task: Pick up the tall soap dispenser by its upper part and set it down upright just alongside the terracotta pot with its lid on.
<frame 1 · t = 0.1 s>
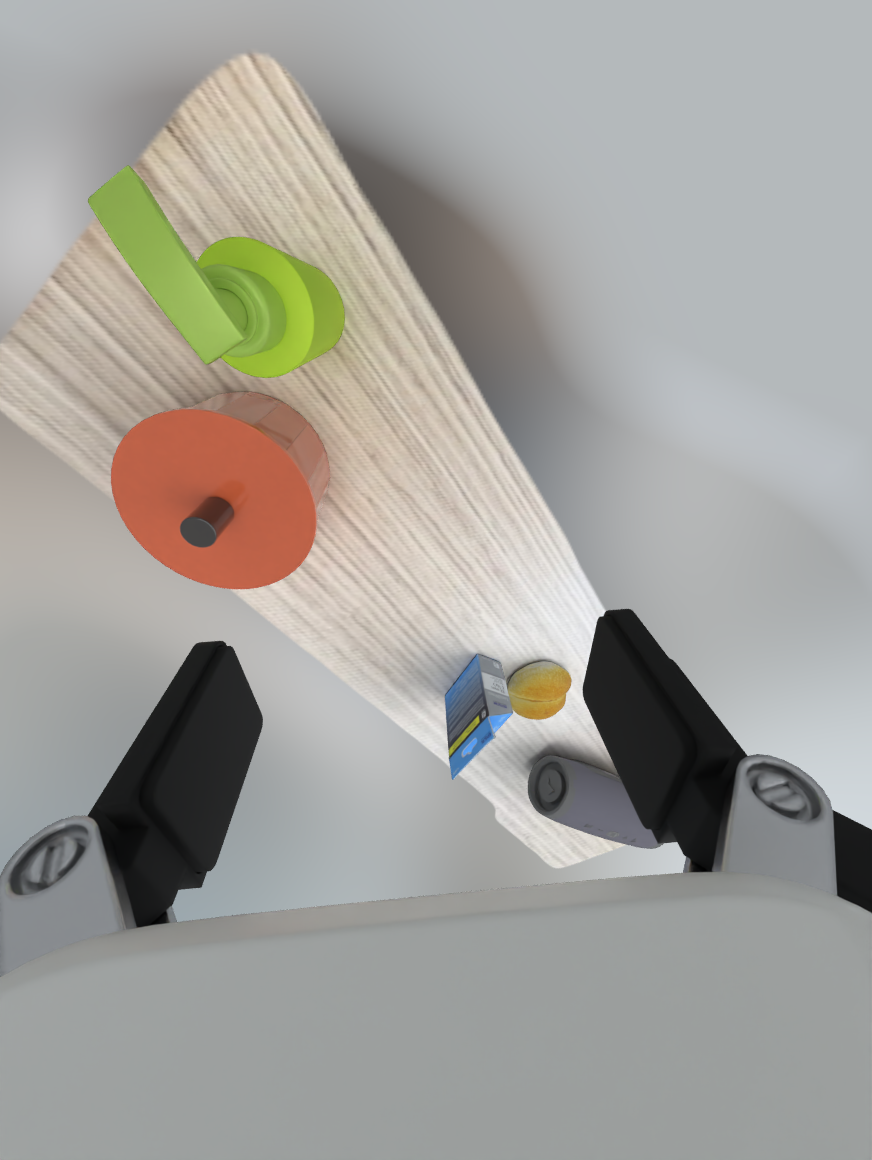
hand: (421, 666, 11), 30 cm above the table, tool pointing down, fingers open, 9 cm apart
soap dispenser: (301, 304, 31), on the table
pot: (259, 466, 38), on the table
bluetooth speaker: (586, 770, 69), on the table
bread roll: (536, 682, 56), on the table
label tape box: (470, 677, 55), on the table
pot lid: (221, 508, 30), point 9 cm above the table, touching pot
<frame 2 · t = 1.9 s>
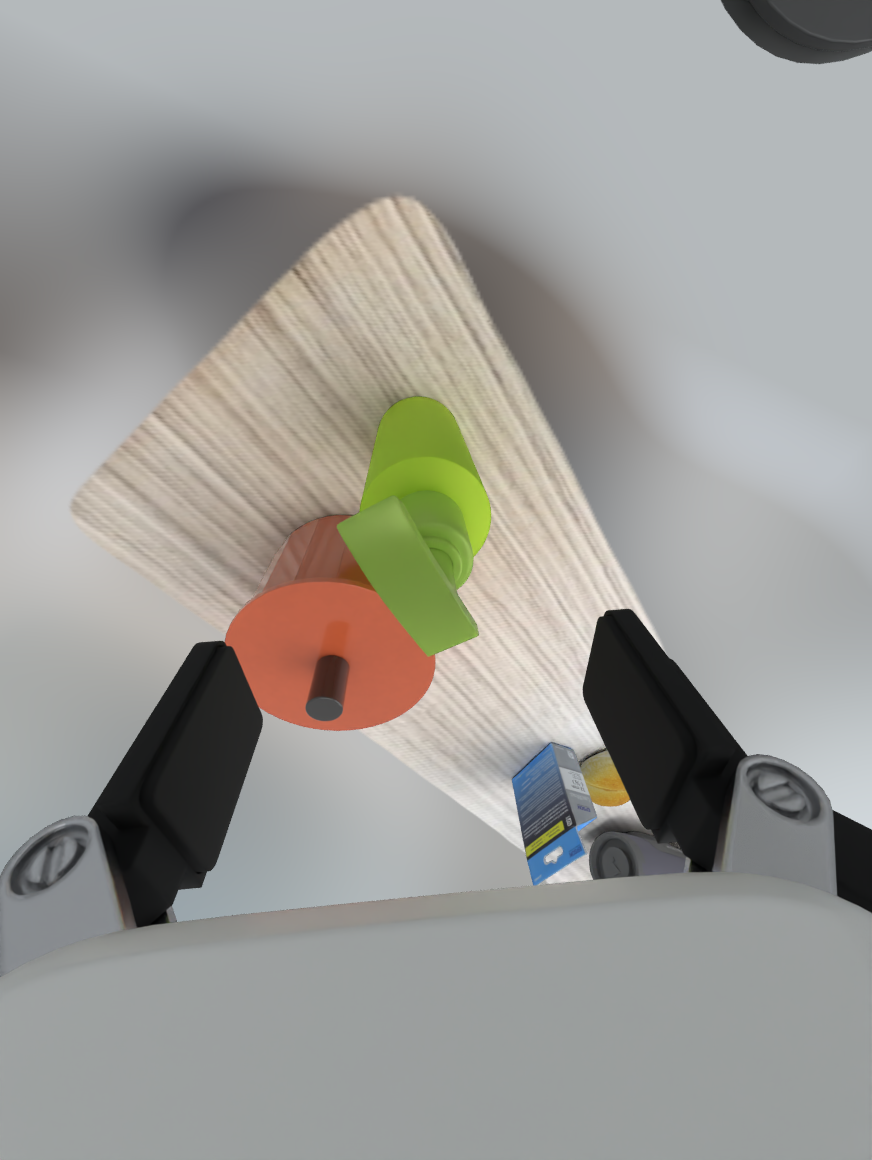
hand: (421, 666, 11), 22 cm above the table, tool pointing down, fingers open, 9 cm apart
soap dispenser: (415, 433, 29), on the table
pot: (350, 581, 35), on the table
bluetooth speaker: (644, 839, 67), on the table
bread roll: (606, 765, 54), on the table
label tape box: (540, 762, 53), on the table
pot lid: (334, 661, 28), point 9 cm above the table, touching pot
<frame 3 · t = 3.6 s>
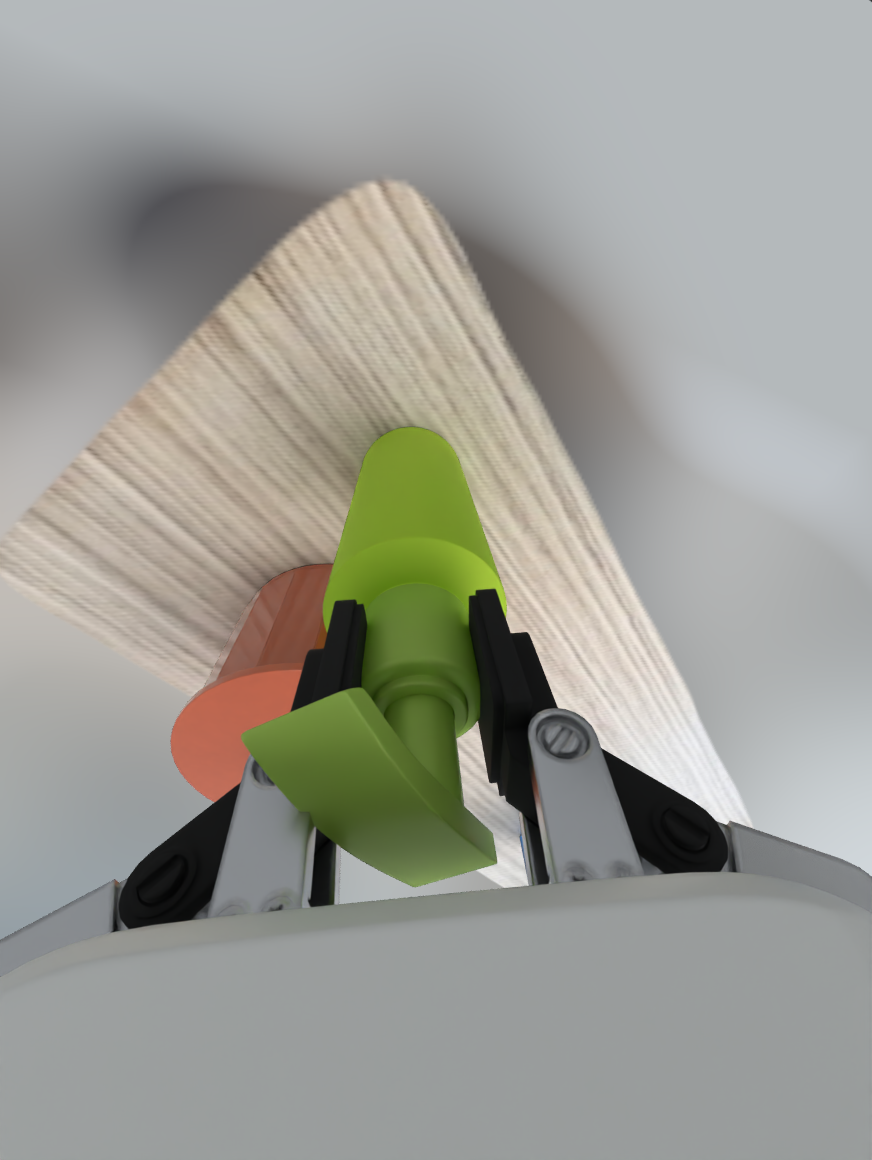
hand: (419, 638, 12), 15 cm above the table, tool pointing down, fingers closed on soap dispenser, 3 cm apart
soap dispenser: (407, 470, 24), on the table, touching gripper
pot: (335, 637, 30), on the table
pot lid: (310, 753, 22), point 9 cm above the table, touching pot
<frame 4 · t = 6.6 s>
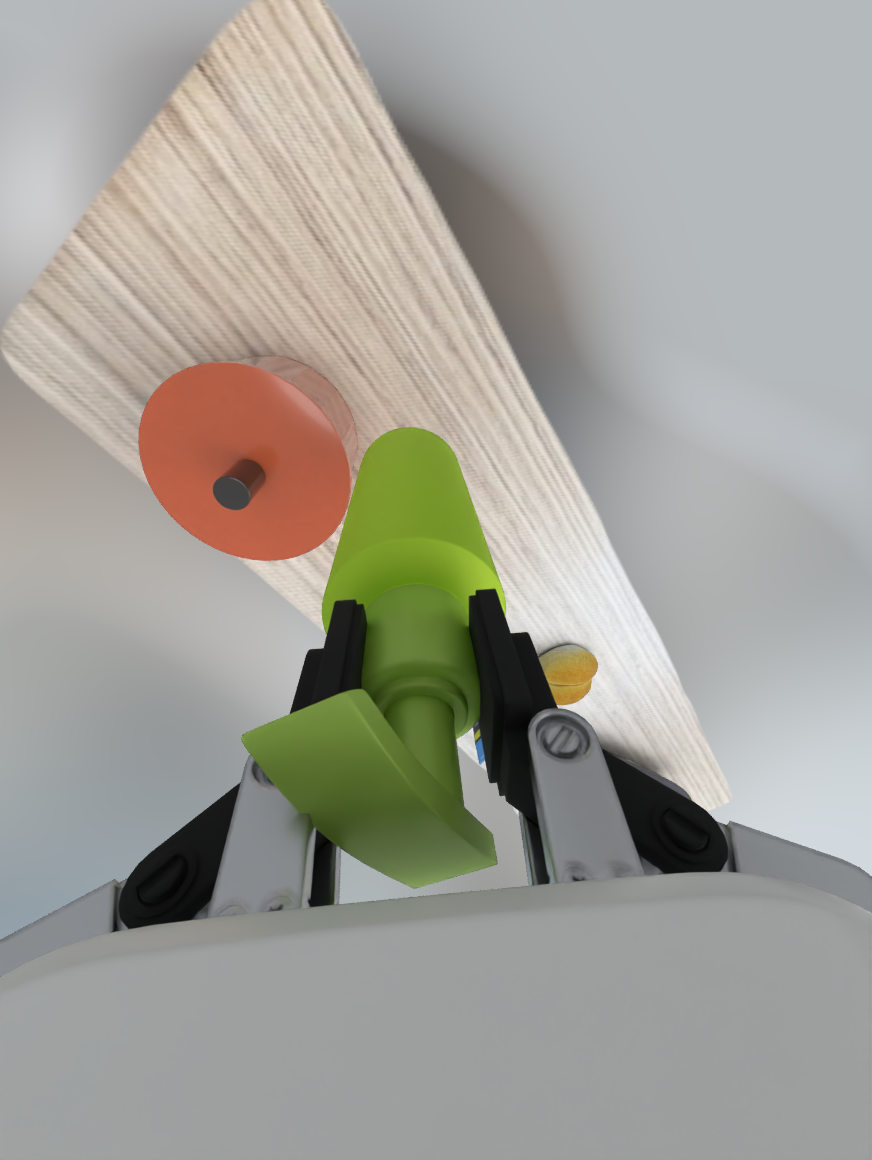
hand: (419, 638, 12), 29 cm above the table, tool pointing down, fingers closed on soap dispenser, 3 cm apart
soap dispenser: (406, 470, 24), point 14 cm above the table, touching gripper
pot: (284, 436, 36), on the table
bluetooth speaker: (608, 759, 68), on the table
bread roll: (560, 667, 55), on the table
pot lid: (251, 472, 28), point 9 cm above the table, touching pot
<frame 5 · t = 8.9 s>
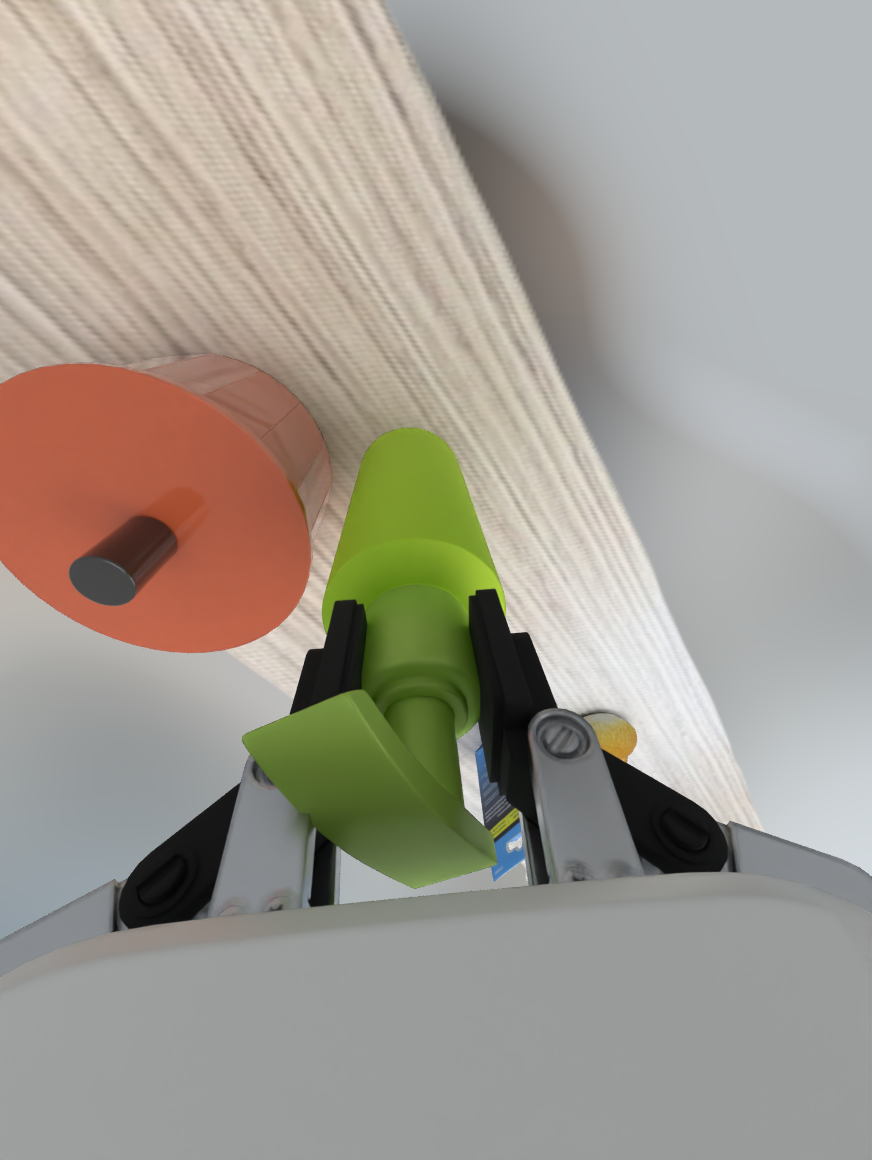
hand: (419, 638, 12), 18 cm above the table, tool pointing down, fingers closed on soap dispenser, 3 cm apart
soap dispenser: (406, 470, 24), point 3 cm above the table, touching gripper
pot: (231, 465, 26), on the table
bread roll: (589, 736, 45), on the table
label tape box: (508, 731, 44), on the table
pot lid: (156, 533, 18), point 9 cm above the table, touching pot
when the fingers open (15 cm above the table, at t = 10.0 s): soap dispenser stays where it is, on the table.
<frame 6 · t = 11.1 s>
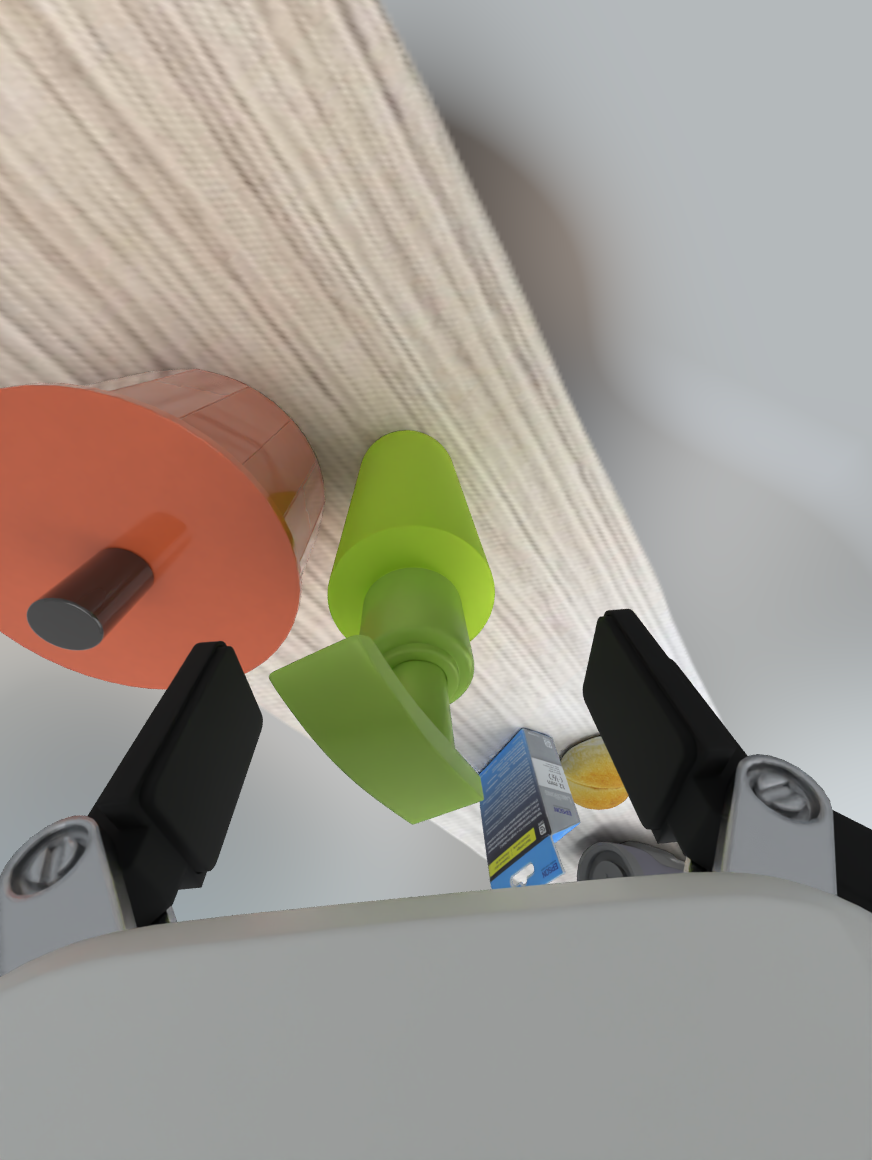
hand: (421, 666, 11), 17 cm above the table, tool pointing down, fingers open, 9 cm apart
soap dispenser: (403, 471, 25), on the table
pot: (218, 485, 25), on the table
bluetooth speaker: (644, 850, 56), on the table
bread roll: (594, 758, 43), on the table
label tape box: (510, 754, 42), on the table
pot lid: (131, 564, 17), point 9 cm above the table, touching pot
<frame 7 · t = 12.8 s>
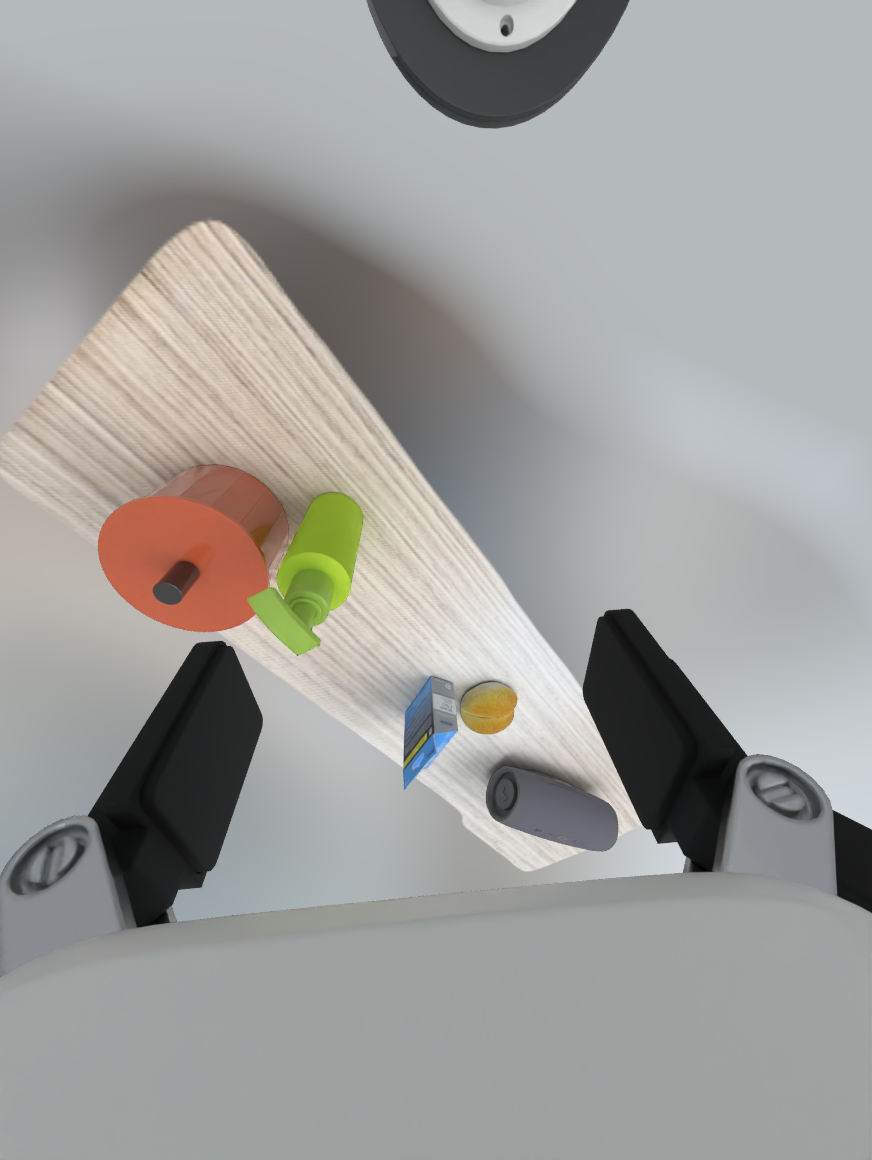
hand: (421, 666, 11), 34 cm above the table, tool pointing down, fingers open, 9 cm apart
soap dispenser: (333, 513, 44), on the table
pot: (227, 522, 44), on the table
bluetooth speaker: (543, 779, 75), on the table
bread roll: (487, 700, 62), on the table
label tape box: (427, 696, 61), on the table
pot lid: (189, 568, 36), point 9 cm above the table, touching pot
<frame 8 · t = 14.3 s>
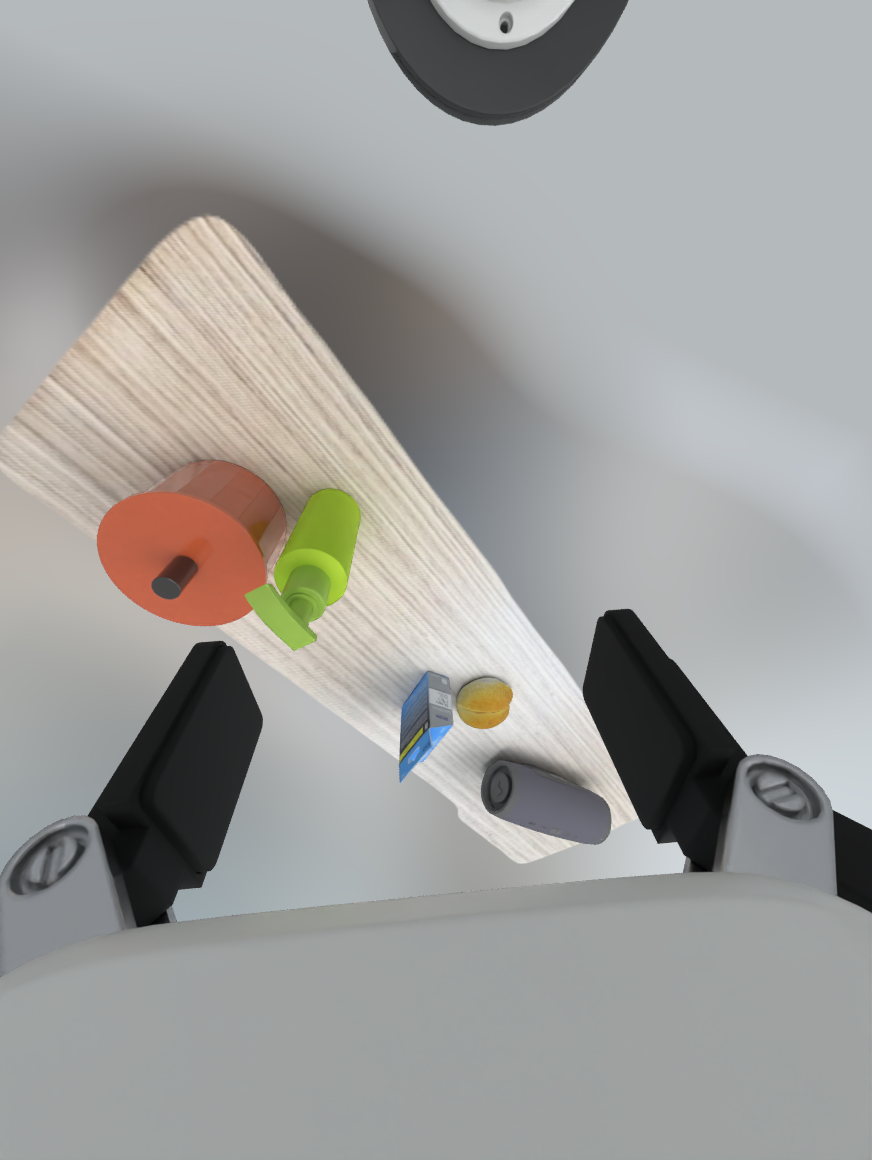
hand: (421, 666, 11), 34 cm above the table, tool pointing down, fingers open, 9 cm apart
soap dispenser: (330, 509, 45), on the table
pot: (226, 517, 44), on the table
bluetooth speaker: (538, 773, 76), on the table
bread roll: (483, 695, 63), on the table
label tape box: (423, 691, 62), on the table
pot lid: (187, 563, 36), point 9 cm above the table, touching pot
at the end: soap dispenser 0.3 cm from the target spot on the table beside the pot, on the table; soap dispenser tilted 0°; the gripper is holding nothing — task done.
